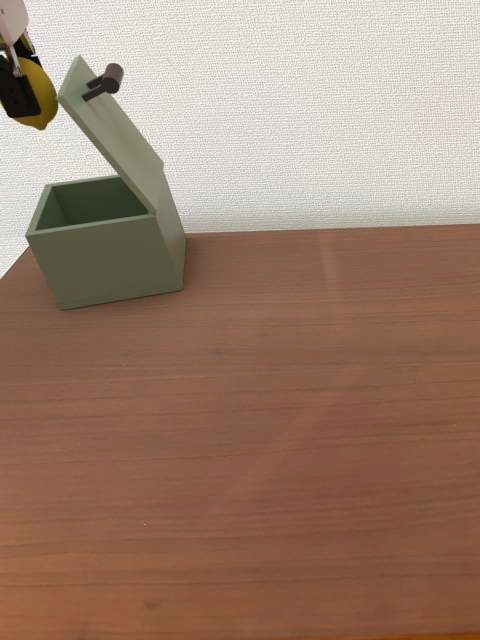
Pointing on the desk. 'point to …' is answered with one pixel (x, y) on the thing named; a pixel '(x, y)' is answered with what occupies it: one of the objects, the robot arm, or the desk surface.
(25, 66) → the lemon
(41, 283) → the desk surface
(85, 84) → the lid
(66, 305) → the chest
